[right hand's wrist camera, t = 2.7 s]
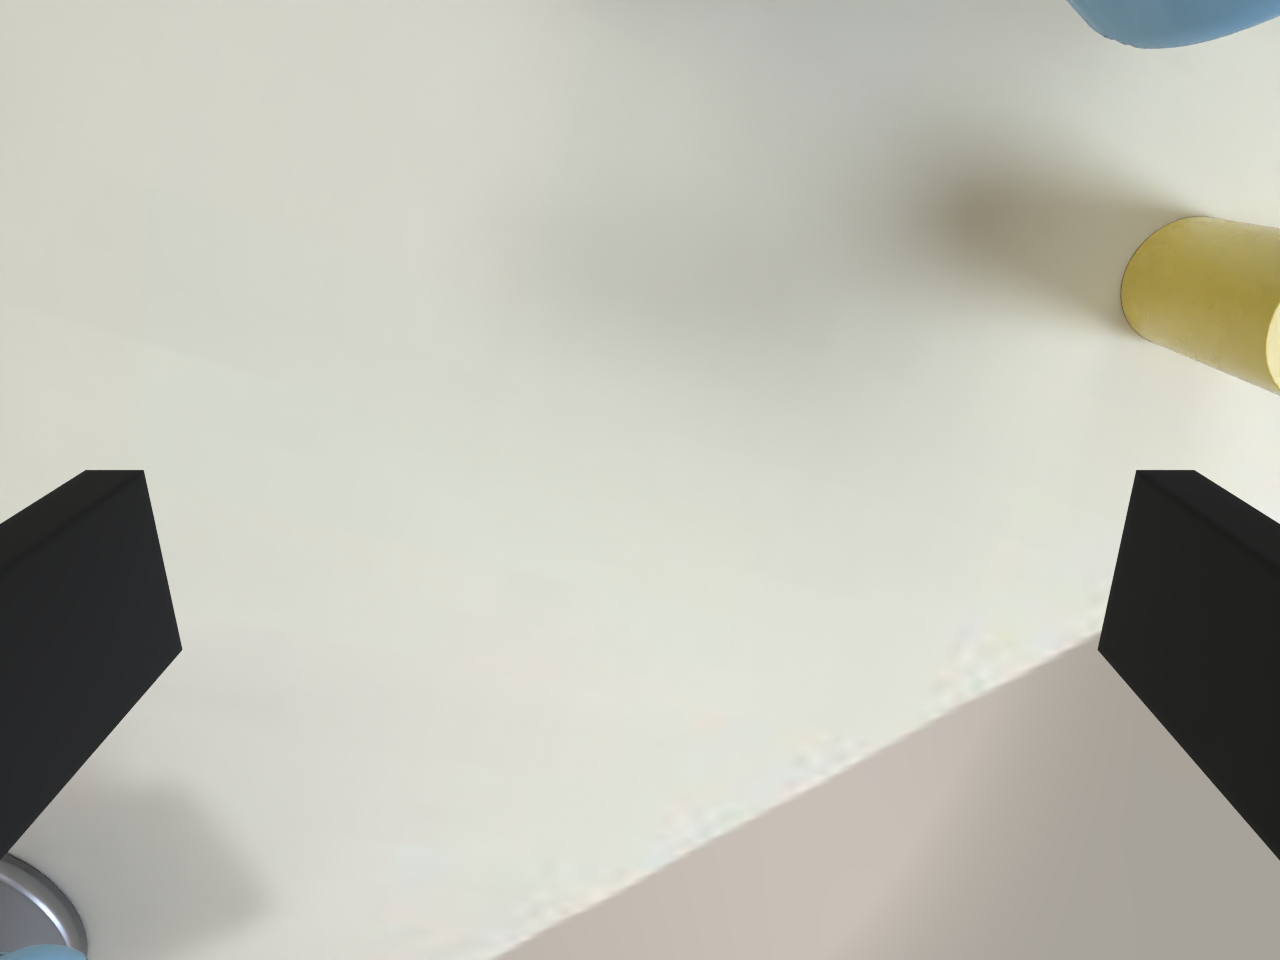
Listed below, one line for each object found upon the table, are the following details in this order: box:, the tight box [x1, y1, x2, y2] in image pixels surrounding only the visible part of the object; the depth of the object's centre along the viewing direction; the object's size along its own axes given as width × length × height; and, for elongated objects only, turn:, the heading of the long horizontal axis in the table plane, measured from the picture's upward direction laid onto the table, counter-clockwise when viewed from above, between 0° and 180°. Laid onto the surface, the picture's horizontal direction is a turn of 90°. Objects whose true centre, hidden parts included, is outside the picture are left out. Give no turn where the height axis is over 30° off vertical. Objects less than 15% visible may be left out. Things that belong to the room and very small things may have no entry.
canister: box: [1121, 217, 1280, 395], centre depth 41 cm, size 6×6×12 cm
